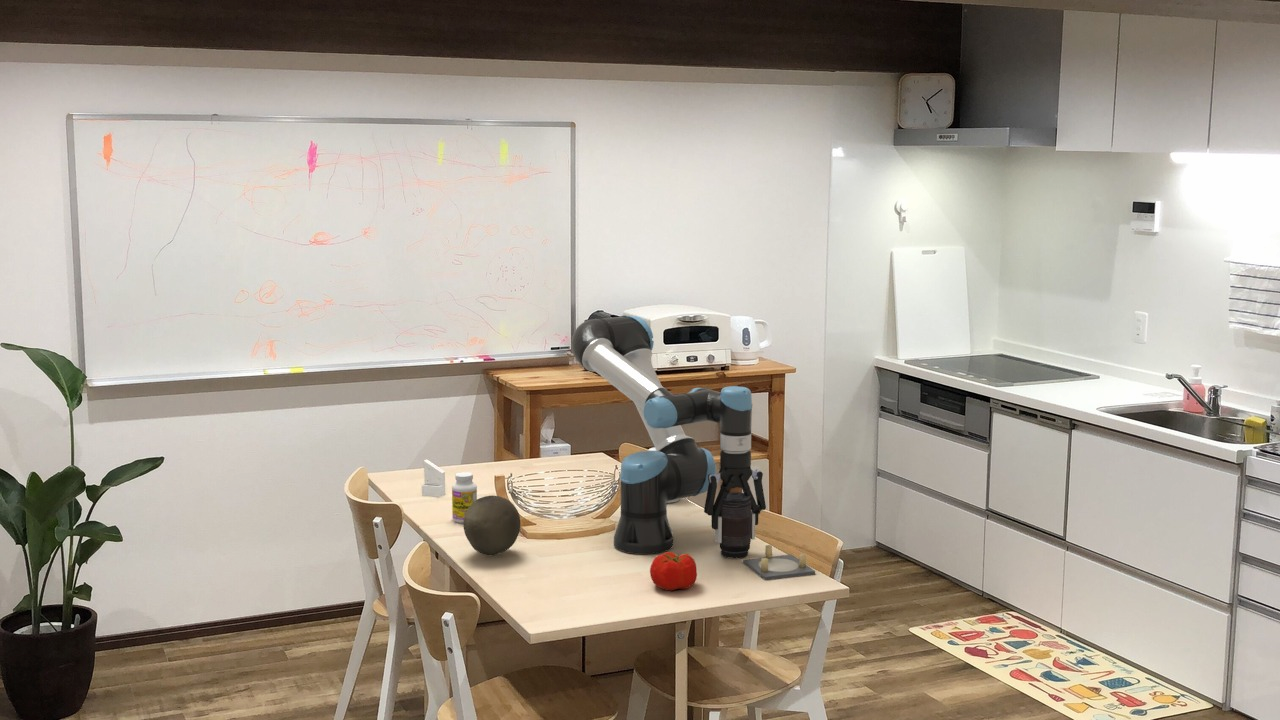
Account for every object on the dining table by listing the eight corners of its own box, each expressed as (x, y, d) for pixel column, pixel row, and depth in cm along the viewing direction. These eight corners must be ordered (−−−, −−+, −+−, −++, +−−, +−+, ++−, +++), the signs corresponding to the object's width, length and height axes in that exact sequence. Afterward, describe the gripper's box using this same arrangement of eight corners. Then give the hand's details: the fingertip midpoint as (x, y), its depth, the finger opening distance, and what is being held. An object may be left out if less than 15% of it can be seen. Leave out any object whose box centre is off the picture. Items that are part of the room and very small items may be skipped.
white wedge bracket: (414, 483, 362) (426, 459, 360) (441, 501, 360) (454, 478, 358) (408, 486, 359) (420, 462, 356) (435, 505, 357) (448, 481, 355)
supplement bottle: (448, 522, 331) (447, 476, 329) (458, 515, 338) (456, 470, 336) (472, 524, 330) (471, 478, 328) (481, 517, 336) (480, 471, 334)
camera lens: (715, 549, 309) (716, 491, 306) (747, 549, 309) (748, 491, 307) (720, 560, 301) (720, 500, 298) (753, 559, 301) (753, 500, 299)
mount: (764, 580, 287) (764, 564, 286) (742, 562, 299) (742, 547, 298) (815, 574, 291) (815, 558, 290) (791, 557, 303) (791, 542, 302)
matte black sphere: (458, 550, 308) (456, 492, 306) (513, 544, 313) (512, 487, 311) (470, 567, 295) (469, 507, 293) (527, 561, 300) (527, 501, 298)
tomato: (641, 588, 281) (641, 557, 280) (669, 575, 290) (669, 545, 289) (678, 598, 275) (679, 566, 274) (706, 585, 283) (707, 554, 282)
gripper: (701, 457, 294) (700, 548, 298) (781, 450, 300) (779, 539, 304) (690, 450, 301) (689, 539, 305) (768, 443, 307) (767, 531, 311)
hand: (734, 539), depth 304 cm, fingers closed on camera lens, 8 cm apart
